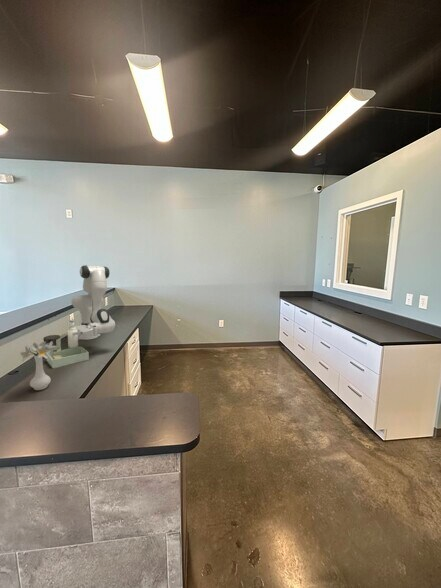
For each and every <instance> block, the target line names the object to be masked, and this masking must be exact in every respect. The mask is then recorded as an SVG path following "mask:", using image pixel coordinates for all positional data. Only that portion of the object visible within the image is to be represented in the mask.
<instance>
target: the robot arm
mask: <svg viewBox="0 0 441 588" xmlns="http://www.w3.org/2000/svg"><path fill="white" fill-rule="evenodd" d="M79 275H80V277H81V278H82V279H83V282H82V290H83V292H85V293H88V294H79V295H75V296H73V297H72V298H71V306H73V308H75V309H76V310H78V311H79V314H80V317H81V324H80V325H74V327H76V329H78V332H73V335H78V340H84V341H85V340H87V341H88V340H93V339H97V338H98V337H101V334H105V333H110V332H112V331H114V330H115V328H116V322H115V320H114V319H113V318H112V317H111V315H110V313H109V310H107V309H105V308H102V304H103V303H104V296H105V294H106V293H107V290H108V288H107V287H108V283H107V279H108V278H109V277H110V269H109V268H108V267H107V266H102V265H87V264H85V265H84V264H83V265H81V267H80V269H79ZM90 308H92V309H91V310H90Z"/></svg>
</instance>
